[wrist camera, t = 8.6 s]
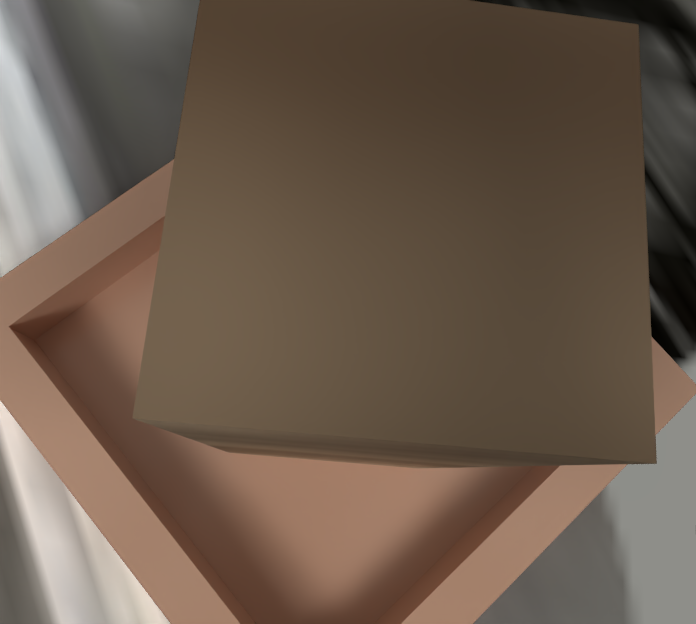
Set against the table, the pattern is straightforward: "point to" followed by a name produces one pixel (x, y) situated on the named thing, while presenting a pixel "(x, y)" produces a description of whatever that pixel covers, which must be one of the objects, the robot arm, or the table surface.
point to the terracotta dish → (256, 466)
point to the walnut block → (406, 238)
